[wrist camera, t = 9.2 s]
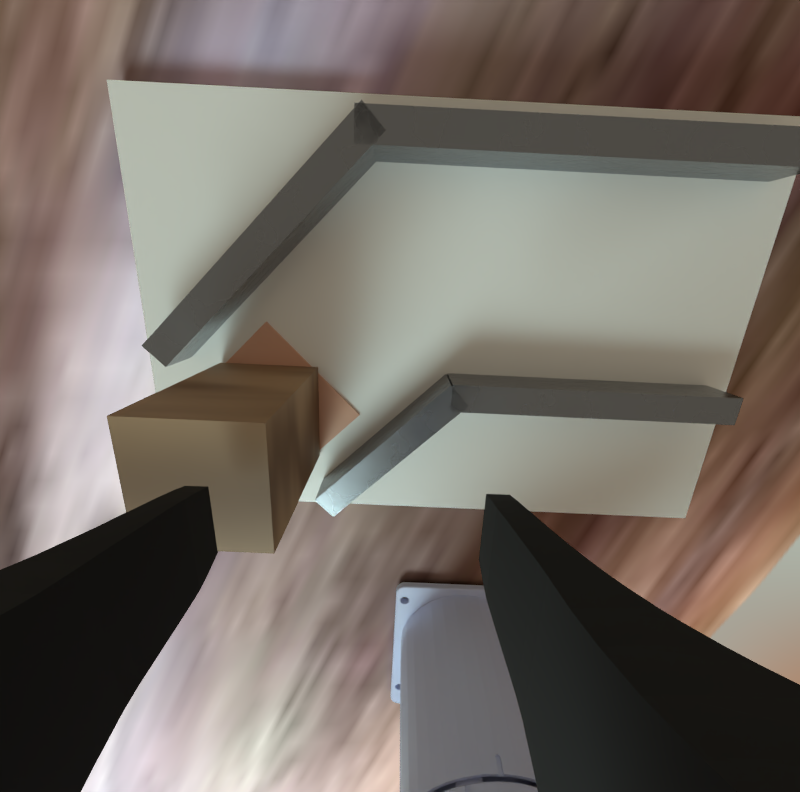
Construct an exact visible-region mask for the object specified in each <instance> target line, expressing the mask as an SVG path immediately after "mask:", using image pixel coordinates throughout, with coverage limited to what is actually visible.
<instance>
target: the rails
mask: <svg viewBox="0 0 800 792" xmlns="http://www.w3.org/2000/svg"><path fill="white" fill-rule="evenodd" d="M375 162H393V163H413V164H432V165H451V166H471V167H490V168H510V169H529V170H548V171H568V172H587V173H606V174H626V175H645V176H665V177H684V178H703V179H723V180H742V181H762V182H770V181H774V180H778V179H782V178H786V177H789V176H793V175H797V174H800V126H786V125H767V124H748V123H729V122H710V121H691V120H672V119H654V118H635V117H616V116H597V115H578V114H559V113H540V112H521V111H502V110H483V109H464V108H445V107H426V106H407V105H389V104H370V103H364V102H363V101H362V100H361V101H360V102H359V103H354V109H353V110H352V111H351V112H350V113H349V114H348V115H347V116H346V118H345V119H344V120H343V121H342V122H341V123H340V124H339V125H338V126H337V128H336V129H335V130H334V131H333V132H332V133H331V134H330V135H329V137H328V138H327V139H326V140H325V141H324V142H323V143H322V144H321V146H320V147H319V148H318V149H317V150H316V151H315V152H314V153H313V154H312V156H311V157H310V158H309V159H308V160H307V161H306V162H305V163H304V165H303V166H302V167H301V168H300V169H299V170H298V171H297V172H296V174H295V175H294V176H293V177H292V178H291V179H290V180H289V181H288V182H287V184H286V185H285V186H284V187H283V188H282V189H281V190H280V191H279V193H278V194H277V195H276V196H275V197H274V198H273V199H272V200H271V202H270V203H269V204H268V205H267V206H266V207H265V208H264V209H263V210H262V212H261V213H260V214H259V215H258V216H257V217H256V218H255V219H254V221H253V222H252V223H251V224H250V225H249V226H248V227H247V228H246V230H245V231H244V232H243V233H242V234H241V235H240V236H239V237H238V238H237V240H236V241H235V242H234V243H233V244H232V245H231V246H230V247H229V249H228V250H227V251H226V252H225V253H224V254H223V255H222V256H221V258H220V259H219V260H218V261H217V262H216V263H215V264H214V265H213V266H212V268H211V269H210V270H209V271H208V272H207V273H206V274H205V275H204V277H203V278H202V279H201V280H200V281H199V282H198V283H197V284H196V286H195V287H194V288H193V289H192V290H191V291H190V292H189V293H188V294H187V296H186V297H185V298H184V299H183V300H182V301H181V302H180V303H179V305H178V306H177V307H176V308H175V309H174V310H173V311H172V312H171V314H170V315H169V316H168V317H167V318H166V319H165V320H164V321H163V322H162V324H161V325H160V326H159V327H158V328H157V329H156V330H155V331H154V333H153V334H152V335H151V336H150V337H149V338H148V339H147V340H146V342H145V343H144V344H143V345H142V346H143V347H144V348H145V349H146V350H147V351H148V352H149V353H150V354H152V355H153V356H154V357H155V358H156V359H157V360H158V361H159V362H161V363H162V364H163V365H164V366H165V367H167V366H170V365H173V364H175V363H178V362H181V361H183V360H186V359H188V358H191V357H192V356H193V355H194V354H195V353H196V352H197V351H198V350H199V349H200V348H201V347H202V346H203V345H204V344H205V343H206V342H207V341H208V339H209V338H210V337H211V336H212V335H213V334H214V333H215V332H216V331H217V330H218V329H219V328H220V327H221V326H222V325H223V324H224V323H225V321H226V320H227V319H228V318H229V317H230V316H231V315H232V314H233V313H234V312H235V311H236V310H237V309H238V308H239V307H240V306H241V304H242V303H243V302H244V301H245V300H246V299H247V298H248V297H249V296H250V295H251V294H252V293H253V292H254V291H255V290H256V289H257V288H258V286H259V285H260V284H261V283H262V282H263V281H264V280H265V279H266V278H267V277H268V276H269V275H270V274H271V273H272V272H273V271H274V269H275V268H276V267H277V266H278V265H279V264H280V263H281V262H282V261H283V260H284V259H285V258H286V257H287V256H288V255H289V254H290V253H291V251H292V250H293V249H294V248H295V247H296V246H297V245H298V244H299V243H300V242H301V241H302V240H303V239H304V238H305V237H306V236H307V235H308V233H309V232H310V231H311V230H312V229H313V228H314V227H315V226H316V225H317V224H318V223H319V222H320V221H321V220H322V219H323V218H324V216H325V215H326V214H327V213H328V212H329V211H330V210H331V209H332V208H333V207H334V206H335V205H336V204H337V203H338V202H339V201H340V200H341V198H342V197H343V196H344V195H345V194H346V193H347V192H348V191H349V190H350V189H351V188H352V187H353V186H354V185H355V184H356V183H357V181H358V180H359V179H360V178H361V177H362V176H363V175H364V174H365V173H366V172H367V171H368V170H369V169H370V168H371V167H372V166H373V165H374V163H375ZM742 402H743V398H741V397H738V396H735V395H732V394H729V393H727V392H724V391H721V390H718V389H715V388H713V387H710V386H707V385H688V384H666V383H645V382H624V381H603V380H581V379H560V378H539V377H518V376H496V375H475V374H454V373H447V374H445V375H444V376H443V377H441V378H440V379H439V380H438V381H437V382H436V383H434V384H433V385H432V386H431V387H430V388H429V389H427V390H426V391H425V392H424V393H423V394H422V395H420V396H419V397H418V398H417V399H416V400H414V401H413V402H412V403H411V404H410V405H409V406H407V407H406V408H405V409H404V410H403V411H402V412H400V413H399V414H398V415H397V416H396V417H395V418H393V419H392V420H391V421H390V422H389V423H388V424H386V425H385V426H384V427H383V428H382V429H381V430H379V431H378V432H377V433H376V434H375V435H373V436H372V437H371V438H370V439H369V440H368V441H366V442H365V443H364V444H363V445H362V446H361V447H359V448H358V449H357V450H356V451H355V452H354V453H352V454H351V455H350V456H349V457H348V458H347V459H345V460H344V461H343V462H342V463H341V464H340V465H338V466H337V467H336V468H335V469H334V470H332V471H331V472H330V473H329V474H328V475H327V476H325V477H324V478H323V481H322V483H321V486H320V488H319V491H318V493H317V496H316V499H315V501H316V502H317V503H318V504H320V505H321V506H322V507H323V508H324V509H325V510H326V511H327V512H329V513H330V514H331V515H332V516H333V517H334V516H335V515H336V514H337V513H339V512H340V511H341V510H342V509H343V508H345V507H346V506H347V505H348V504H350V503H351V502H352V501H353V500H355V499H356V498H357V497H358V496H359V495H361V494H362V493H363V492H364V491H366V490H367V489H368V488H369V487H370V486H372V485H373V484H374V483H375V482H377V481H378V480H379V479H380V478H381V477H383V476H384V475H385V474H386V473H388V472H389V471H390V470H391V469H392V468H394V467H395V466H396V465H397V464H399V463H400V462H401V461H402V460H403V459H405V458H406V457H407V456H408V455H410V454H411V453H412V452H413V451H415V450H416V449H417V448H418V447H419V446H421V445H422V444H423V443H424V442H426V441H427V440H428V439H429V438H430V437H432V436H433V435H434V434H435V433H437V432H438V431H439V430H440V429H441V428H443V427H444V426H445V425H446V424H448V423H449V422H450V421H451V420H452V419H454V418H455V417H456V416H457V415H459V414H460V413H483V414H504V415H526V416H548V417H569V418H591V419H613V420H634V421H656V422H677V423H699V424H721V425H735V422H736V419H737V416H738V413H739V410H740V407H741V405H742Z"/></svg>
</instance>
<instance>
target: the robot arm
mask: <svg viewBox="0 0 800 792" xmlns="http://www.w3.org/2000/svg"><path fill="white" fill-rule="evenodd" d="M217 553H218V551H217V544H216V537H215V530H214V523H213V516H212V509H211V502H210V495H209V488H208V486H183V487H181V488H178V489H175V490H173V491H171V492H168V493H166V494H164V495H162V496H160V497H157V498H155V499H153V500H151V501H149V502H147V503H145V504H143V505H141V506H139V507H137V508H135V509H133V510H131V511H129V512H126V513H124V514H122V515H120V516H118V517H116V518H114V519H112V520H110V521H108V522H106V523H104V524H102V525H100V526H98V527H96V528H94V529H92V530H89V531H87V532H85V533H83V534H81V535H79V536H76V537H74V538H72V539H70V540H68V541H65V542H63V543H61V544H59V545H57V546H55V547H52V548H50V549H48V550H46V551H44V552H41V553H39V554H37V555H35V556H32V557H30V558H28V559H25V560H23V561H21V562H18V563H16V564H14V565H11V566H9V567H6V568H4V569H2V570H0V792H81V790H82V788H83V786H84V784H85V782H86V780H87V778H88V776H89V775H90V773H91V771H92V769H93V767H94V765H95V763H96V761H97V759H98V757H99V755H100V754H101V752H102V750H103V748H104V746H105V744H106V742H107V741H108V739H109V737H110V735H111V733H112V731H113V729H114V728H115V726H116V724H117V722H118V720H119V718H120V716H121V714H122V713H123V711H124V709H125V707H126V706H127V704H128V702H129V701H130V699H131V697H132V696H133V694H134V692H135V691H136V689H137V687H138V686H139V684H140V683H141V681H142V679H143V678H144V676H145V675H146V673H147V672H148V670H149V669H150V667H151V666H152V664H153V662H154V661H155V659H156V658H157V656H158V655H159V653H160V652H161V650H162V649H163V647H164V645H165V644H166V642H167V641H168V639H169V638H170V636H171V635H172V633H173V632H174V630H175V628H176V627H177V625H178V624H179V622H180V621H181V619H182V618H183V616H184V614H185V613H186V611H187V610H188V608H189V607H190V605H191V603H192V602H193V600H194V599H195V597H196V595H197V594H198V592H199V591H200V589H201V587H202V585H203V583H204V581H205V579H206V577H207V575H208V573H209V570H210V568H211V566H212V564H213V562H214V559H215V557H216V555H217ZM479 562H480V568H481V573H482V579H483V585H462V584H438V583H415V582H402V583H400V584H399V585H398V586H397V590H396V608H395V626H394V644H393V662H392V680H391V699H392V701H394V702H395V703H400V792H800V685H799V684H797V683H795V682H793V681H791V680H789V679H787V678H785V677H783V676H781V675H779V674H777V673H775V672H773V671H771V670H769V669H767V668H765V667H763V666H761V665H758V664H757V663H755V662H753V661H751V660H749V659H747V658H746V657H744V656H742V655H740V654H738V653H736V652H734V651H732V650H730V649H729V648H727V647H725V646H723V645H721V644H719V643H717V642H716V641H714V640H712V639H711V638H709V637H707V636H705V635H704V634H702V633H700V632H698V631H696V630H695V629H693V628H691V627H689V626H688V625H686V624H684V623H682V622H681V621H679V620H677V619H676V618H674V617H672V616H671V615H669V614H667V613H666V612H664V611H662V610H661V609H659V608H658V607H656V606H654V605H653V604H651V603H650V602H648V601H647V600H645V599H644V598H642V597H641V596H639V595H638V594H636V593H635V592H633V591H631V590H630V589H628V588H627V587H625V586H624V585H622V584H621V583H620V582H618V581H617V580H615V579H614V578H612V577H611V576H610V575H608V574H607V573H605V572H604V571H603V570H601V569H600V568H599V567H597V566H596V565H595V564H593V563H592V562H591V561H589V560H588V559H587V558H585V557H584V556H583V555H581V554H580V553H579V552H578V551H576V550H575V549H574V548H573V547H571V546H570V545H569V544H568V543H566V542H565V541H564V540H563V539H561V538H560V537H559V536H558V535H557V534H555V533H554V532H553V531H552V530H551V529H550V528H548V527H547V526H546V525H545V524H544V523H543V522H541V521H540V520H539V519H538V518H537V517H536V516H534V515H533V514H532V513H531V512H530V511H529V510H528V509H526V508H525V507H524V506H523V505H522V504H521V503H520V502H518V501H517V500H516V499H515V498H513V497H512V496H511V495H506V494H486V500H485V509H484V519H483V528H482V537H481V546H480V556H479ZM402 597H407V598H405V599H404V598H402Z"/></svg>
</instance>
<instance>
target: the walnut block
mask: <svg viewBox="0 0 800 792" xmlns="http://www.w3.org/2000/svg"><path fill="white" fill-rule="evenodd" d="M107 419H108V424H109V429H110V434H111V439H112V444H113V449H114V454H115V459H116V464H117V469H118V474H119V479H120V484H121V488H122V493H123V498H124V503H125V508H126V512H129V511H131V510H133V509H135V508H137V507H139V506H141V505H143V504H145V503H147V502H149V501H151V500H153V499H155V498H157V497H160V496H162V495H164V494H166V493H168V492H171V491H173V490H175V489H178V488H181V487H183V486H208V488H209V495H210V502H211V509H212V516H213V523H214V530H215V537H216V544H217V551H227V552H251V553H275V551H276V548H277V546H278V544H279V542H280V540H281V538H282V535H283V533H284V531H285V529H286V527H287V525H288V523H289V520H290V518H291V516H292V514H293V512H294V510H295V507H296V505H297V503H298V501H299V499H300V497H301V495H302V492H303V490H304V488H305V486H306V484H307V482H308V479H309V477H310V475H311V473H312V471H313V469H314V467H315V464H316V462H317V460H318V458H319V456H320V439H319V391H318V367H305V366H283V365H261V364H240V363H219V364H217V365H214V366H212V367H210V368H208V369H206V370H204V371H202V372H200V373H197V374H195V375H193V376H191V377H189V378H187V379H185V380H183V381H180V382H178V383H176V384H174V385H172V386H170V387H168V388H165V389H163V390H161V391H159V392H157V393H155V394H153V395H151V396H148V397H146V398H144V399H142V400H140V401H138V402H136V403H134V404H131V405H129V406H127V407H125V408H123V409H121V410H119V411H117V412H114V413H112V414H110V415H108V416H107Z"/></svg>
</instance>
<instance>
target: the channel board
mask: <svg viewBox="0 0 800 792" xmlns="http://www.w3.org/2000/svg"><path fill="white" fill-rule="evenodd" d="M107 84H108V90H109V97H110V103H111V110H112V116H113V122H114V129H115V135H116V142H117V148H118V154H119V161H120V167H121V174H122V180H123V186H124V193H125V199H126V205H127V212H128V218H129V225H130V231H131V237H132V244H133V250H134V257H135V263H136V269H137V276H138V282H139V289H140V295H141V301H142V308H143V314H144V321H145V327H146V333H147V339H148V338H149V337H150V336H151V335H152V334H153V333H154V331H155V330H156V329H157V328H158V327H159V326H160V325H161V324H162V322H163V321H164V320H165V319H166V318H167V317H168V316H169V315H170V314H171V312H172V311H173V310H174V309H175V308H176V307H177V306H178V305H179V303H180V302H181V301H182V300H183V299H184V298H185V297H186V296H187V294H188V293H189V292H190V291H191V290H192V289H193V288H194V287H195V286H196V284H197V283H198V282H199V281H200V280H201V279H202V278H203V277H204V275H205V274H206V273H207V272H208V271H209V270H210V269H211V268H212V266H213V265H214V264H215V263H216V262H217V261H218V260H219V259H220V258H221V256H222V255H223V254H224V253H225V252H226V251H227V250H228V249H229V247H230V246H231V245H232V244H233V243H234V242H235V241H236V240H237V238H238V237H239V236H240V235H241V234H242V233H243V232H244V231H245V230H246V228H247V227H248V226H249V225H250V224H251V223H252V222H253V221H254V219H255V218H256V217H257V216H258V215H259V214H260V213H261V212H262V210H263V209H264V208H265V207H266V206H267V205H268V204H269V203H270V202H271V200H272V199H273V198H274V197H275V196H276V195H277V194H278V193H279V191H280V190H281V189H282V188H283V187H284V186H285V185H286V184H287V182H288V181H289V180H290V179H291V178H292V177H293V176H294V175H295V174H296V172H297V171H298V170H299V169H300V168H301V167H302V166H303V165H304V163H305V162H306V161H307V160H308V159H309V158H310V157H311V156H312V154H313V153H314V152H315V151H316V150H317V149H318V148H319V147H320V146H321V144H322V143H323V142H324V141H325V140H326V139H327V138H328V137H329V135H330V134H331V133H332V132H333V131H334V130H335V129H336V128H337V126H338V125H339V124H340V123H341V122H342V121H343V120H344V119H345V118H346V116H347V115H348V114H349V113H350V112H351V111H352V110H353V109H354V103H359V102H360V101H361V100H362V101H363V102H364V103H370V104H389V105H407V106H426V107H445V108H464V109H483V110H502V111H521V112H540V113H559V114H578V115H597V116H616V117H635V118H654V119H672V120H691V121H710V122H729V123H748V124H767V125H786V126H800V116H782V115H763V114H744V113H726V112H707V111H688V110H669V109H650V108H631V107H613V106H594V105H575V104H556V103H537V102H518V101H499V100H481V99H462V98H443V97H424V96H405V95H386V94H367V93H349V92H330V91H311V90H292V89H273V88H254V87H236V86H217V85H198V84H179V83H160V82H141V81H122V80H107ZM795 177H796V175H793V176H789V177H786V178H782V179H778V180H774V181H770V182H762V181H742V180H723V179H703V178H684V177H665V176H645V175H626V174H606V173H587V172H568V171H548V170H529V169H510V168H490V167H471V166H451V165H432V164H413V163H393V162H375V163H374V165H373V166H372V167H371V168H370V169H369V170H368V171H367V172H366V173H365V174H364V175H363V176H362V177H361V178H360V179H359V180H358V181H357V183H356V184H355V185H354V186H353V187H352V188H351V189H350V190H349V191H348V192H347V193H346V194H345V195H344V196H343V197H342V198H341V200H340V201H339V202H338V203H337V204H336V205H335V206H334V207H333V208H332V209H331V210H330V211H329V212H328V213H327V214H326V215H325V216H324V218H323V219H322V220H321V221H320V222H319V223H318V224H317V225H316V226H315V227H314V228H313V229H312V230H311V231H310V232H309V233H308V235H307V236H306V237H305V238H304V239H303V240H302V241H301V242H300V243H299V244H298V245H297V246H296V247H295V248H294V249H293V250H292V251H291V253H290V254H289V255H288V256H287V257H286V258H285V259H284V260H283V261H282V262H281V263H280V264H279V265H278V266H277V267H276V268H275V269H274V271H273V272H272V273H271V274H270V275H269V276H268V277H267V278H266V279H265V280H264V281H263V282H262V283H261V284H260V285H259V286H258V288H257V289H256V290H255V291H254V292H253V293H252V294H251V295H250V296H249V297H248V298H247V299H246V300H245V301H244V302H243V303H242V304H241V306H240V307H239V308H238V309H237V310H236V311H235V312H234V313H233V314H232V315H231V316H230V317H229V318H228V319H227V320H226V321H225V323H224V324H223V325H222V326H221V327H220V328H219V329H218V330H217V331H216V332H215V333H214V334H213V335H212V336H211V337H210V338H209V339H208V341H207V342H206V343H205V344H204V345H203V346H202V347H201V348H200V349H199V350H198V351H197V352H196V353H195V354H194V355H193V356H192V357H191V358H188V359H186V360H183V361H181V362H178V363H175V364H173V365H170V366H167V367H165V366H164V365H163V364H162V363H161V362H159V361H158V360H157V359H156V358H155V357H154V356H153V355H152V354H150V359H151V365H152V372H153V378H154V384H155V391H156V393H157V392H159V391H161V390H163V389H165V388H168V387H170V386H172V385H174V384H176V383H178V382H180V381H183V380H185V379H187V378H189V377H191V376H193V375H195V374H197V373H200V372H202V371H204V370H206V369H208V368H210V367H212V366H214V365H217V364H219V363H240V364H261V365H283V366H305V367H318V391H319V439H320V456H319V458H318V460H317V462H316V464H315V467H314V469H313V471H312V473H311V475H310V477H309V479H308V482H307V484H306V486H305V488H304V490H303V492H302V495H301V497H300V499H299V501H307V502H316V501H315V499H316V496H317V493H318V491H319V488H320V486H321V483H322V481H323V478H324V477H325V476H327V475H328V474H329V473H330V472H331V471H332V470H334V469H335V468H336V467H337V466H338V465H340V464H341V463H342V462H343V461H344V460H345V459H347V458H348V457H349V456H350V455H351V454H352V453H354V452H355V451H356V450H357V449H358V448H359V447H361V446H362V445H363V444H364V443H365V442H366V441H368V440H369V439H370V438H371V437H372V436H373V435H375V434H376V433H377V432H378V431H379V430H381V429H382V428H383V427H384V426H385V425H386V424H388V423H389V422H390V421H391V420H392V419H393V418H395V417H396V416H397V415H398V414H399V413H400V412H402V411H403V410H404V409H405V408H406V407H407V406H409V405H410V404H411V403H412V402H413V401H414V400H416V399H417V398H418V397H419V396H420V395H422V394H423V393H424V392H425V391H426V390H427V389H429V388H430V387H431V386H432V385H433V384H434V383H436V382H437V381H438V380H439V379H440V378H441V377H443V376H444V375H445V374H447V373H454V374H475V375H496V376H518V377H539V378H560V379H581V380H603V381H624V382H645V383H666V384H688V385H707V386H710V387H713V388H715V389H718V390H721V391H724V392H726V390H727V387H728V384H729V381H730V378H731V375H732V372H733V369H734V366H735V363H736V359H737V356H738V353H739V350H740V347H741V344H742V341H743V338H744V335H745V332H746V328H747V325H748V322H749V319H750V316H751V313H752V310H753V307H754V304H755V301H756V298H757V294H758V291H759V288H760V285H761V282H762V279H763V276H764V273H765V270H766V267H767V263H768V260H769V257H770V254H771V251H772V248H773V245H774V242H775V239H776V236H777V232H778V229H779V226H780V223H781V220H782V217H783V214H784V211H785V208H786V205H787V202H788V198H789V195H790V192H791V189H792V186H793V183H794V180H795ZM714 428H715V424H699V423H677V422H656V421H634V420H613V419H591V418H569V417H548V416H526V415H504V414H483V413H460V414H459V415H457V416H456V417H455V418H454V419H452V420H451V421H450V422H449V423H448V424H446V425H445V426H444V427H443V428H441V429H440V430H439V431H438V432H437V433H435V434H434V435H433V436H432V437H430V438H429V439H428V440H427V441H426V442H424V443H423V444H422V445H421V446H419V447H418V448H417V449H416V450H415V451H413V452H412V453H411V454H410V455H408V456H407V457H406V458H405V459H403V460H402V461H401V462H400V463H399V464H397V465H396V466H395V467H394V468H392V469H391V470H390V471H389V472H388V473H386V474H385V475H384V476H383V477H381V478H380V479H379V480H378V481H377V482H375V483H374V484H373V485H372V486H370V487H369V488H368V489H367V490H366V491H364V492H363V493H362V494H361V495H359V496H358V497H357V498H356V499H355V500H353V501H352V502H351V503H352V504H375V505H397V506H420V507H443V508H465V509H485V500H486V494H506V495H511V496H512V497H513V498H515V499H516V500H517V501H518V502H520V503H521V504H522V505H523V506H524V507H525V508H526V509H528V510H529V511H533V512H556V513H579V514H601V515H624V516H646V517H669V518H685V517H686V514H687V511H688V508H689V505H690V502H691V499H692V496H693V493H694V489H695V486H696V483H697V480H698V477H699V474H700V471H701V468H702V465H703V462H704V459H705V455H706V452H707V449H708V446H709V443H710V440H711V437H712V434H713V431H714Z"/></svg>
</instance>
